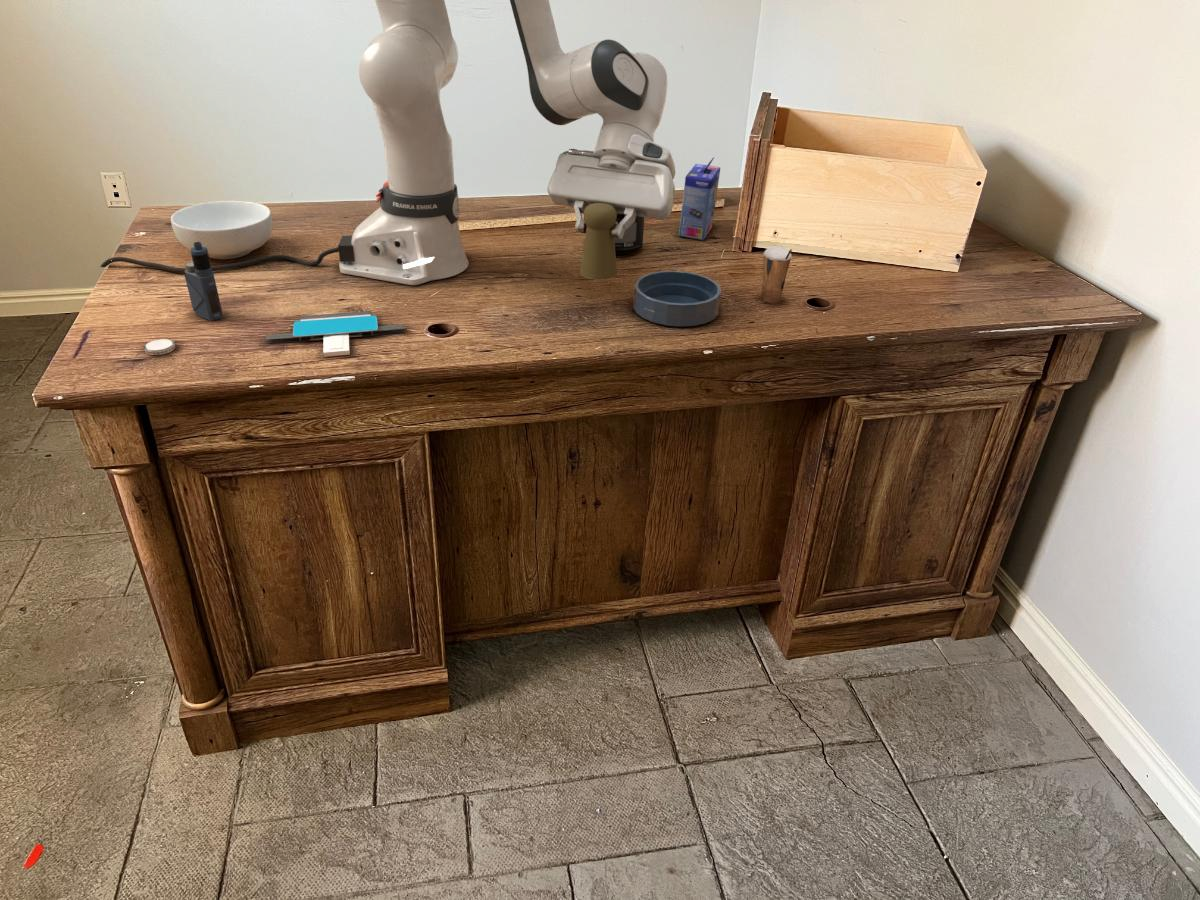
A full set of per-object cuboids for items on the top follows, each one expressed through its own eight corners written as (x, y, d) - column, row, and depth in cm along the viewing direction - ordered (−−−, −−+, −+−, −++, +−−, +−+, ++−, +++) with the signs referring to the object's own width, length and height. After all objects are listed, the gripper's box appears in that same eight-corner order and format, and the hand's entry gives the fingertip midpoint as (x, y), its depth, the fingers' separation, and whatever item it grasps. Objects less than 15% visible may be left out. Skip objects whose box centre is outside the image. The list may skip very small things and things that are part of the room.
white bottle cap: (141, 355, 122) (140, 351, 121) (149, 343, 125) (147, 339, 125) (171, 354, 122) (170, 350, 122) (178, 341, 126) (177, 337, 125)
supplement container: (630, 236, 170) (634, 175, 163) (651, 255, 161) (656, 191, 155) (580, 241, 166) (581, 179, 160) (599, 261, 158) (601, 196, 152)
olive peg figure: (613, 281, 135) (615, 212, 129) (576, 277, 136) (577, 209, 130) (620, 267, 140) (623, 200, 134) (584, 263, 141) (585, 197, 135)
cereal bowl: (274, 266, 151) (267, 227, 147) (172, 272, 147) (162, 232, 144) (280, 233, 165) (273, 196, 161) (187, 238, 161) (178, 200, 157)
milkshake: (770, 309, 143) (779, 251, 137) (751, 296, 147) (759, 240, 141) (792, 304, 144) (802, 247, 139) (773, 292, 148) (782, 236, 143)
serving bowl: (629, 324, 136) (630, 300, 134) (637, 289, 148) (638, 267, 145) (717, 331, 135) (720, 308, 133) (719, 296, 146) (721, 274, 144)
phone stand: (263, 362, 122) (261, 351, 121) (268, 326, 131) (266, 316, 130) (407, 350, 126) (406, 339, 125) (401, 316, 136) (400, 306, 135)
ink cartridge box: (705, 241, 169) (713, 166, 161) (678, 237, 170) (684, 163, 162) (714, 225, 177) (722, 153, 169) (688, 222, 178) (695, 150, 170)
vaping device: (212, 322, 132) (195, 247, 125) (190, 314, 134) (172, 239, 127) (227, 316, 133) (210, 242, 127) (205, 308, 136) (187, 235, 129)
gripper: (556, 136, 136) (531, 215, 134) (679, 151, 131) (656, 234, 128) (566, 158, 142) (543, 233, 140) (685, 173, 137) (663, 252, 134)
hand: (598, 234), depth 134 cm, fingers closed on olive peg figure, 5 cm apart
